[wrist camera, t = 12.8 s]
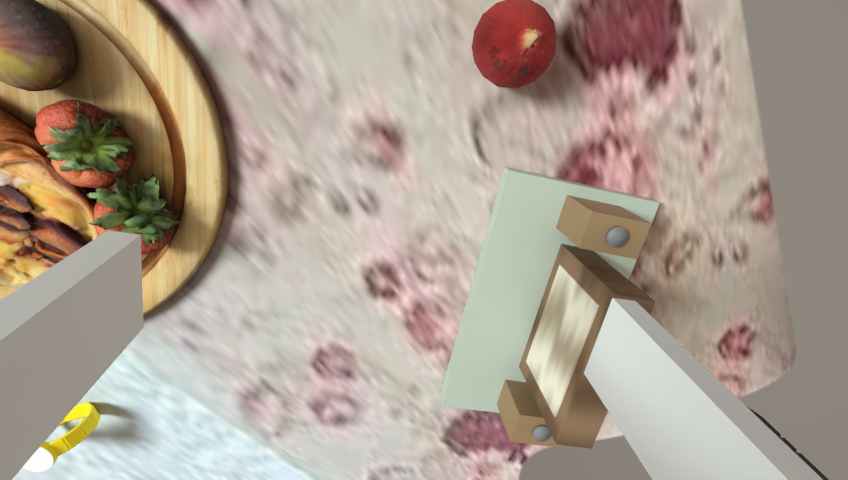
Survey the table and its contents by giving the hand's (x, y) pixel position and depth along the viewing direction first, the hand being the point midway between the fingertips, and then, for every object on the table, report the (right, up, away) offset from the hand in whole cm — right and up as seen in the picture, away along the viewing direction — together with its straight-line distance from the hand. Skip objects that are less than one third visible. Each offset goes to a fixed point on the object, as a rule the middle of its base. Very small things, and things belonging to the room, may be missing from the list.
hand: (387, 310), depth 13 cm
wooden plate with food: (-31, +9, +23) cm, 39 cm away
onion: (+7, +17, +23) cm, 30 cm away
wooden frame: (+13, -5, +30) cm, 33 cm away
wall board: (+12, -4, +31) cm, 34 cm away
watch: (-32, -14, +31) cm, 47 cm away
